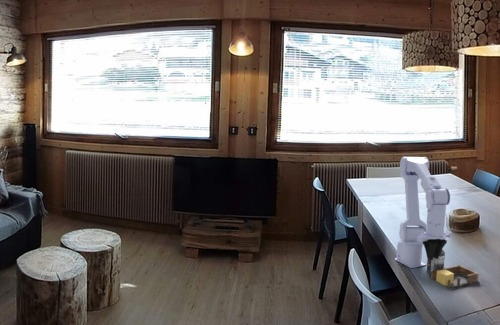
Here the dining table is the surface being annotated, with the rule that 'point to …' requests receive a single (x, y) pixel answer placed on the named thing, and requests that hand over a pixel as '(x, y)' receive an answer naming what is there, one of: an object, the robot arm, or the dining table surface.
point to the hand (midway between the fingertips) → (432, 258)
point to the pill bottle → (436, 262)
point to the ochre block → (444, 277)
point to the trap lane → (462, 270)
